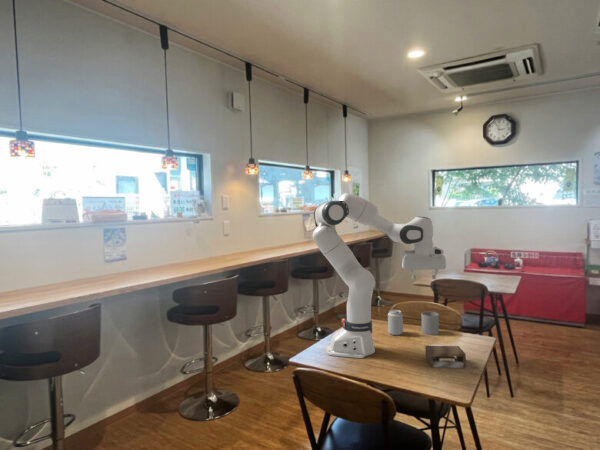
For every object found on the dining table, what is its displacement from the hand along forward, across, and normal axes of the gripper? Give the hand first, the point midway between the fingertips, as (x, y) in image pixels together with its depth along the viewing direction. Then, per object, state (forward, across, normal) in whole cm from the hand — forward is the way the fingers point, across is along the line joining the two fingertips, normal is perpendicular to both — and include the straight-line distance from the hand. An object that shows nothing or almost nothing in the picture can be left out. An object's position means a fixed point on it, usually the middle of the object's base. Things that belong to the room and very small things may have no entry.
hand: (423, 278), depth 184 cm
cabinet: (+31, +3, -24) cm, 40 cm away
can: (+31, -12, +12) cm, 36 cm away
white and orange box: (+31, +3, -20) cm, 37 cm away
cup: (+31, +6, +14) cm, 35 cm away
